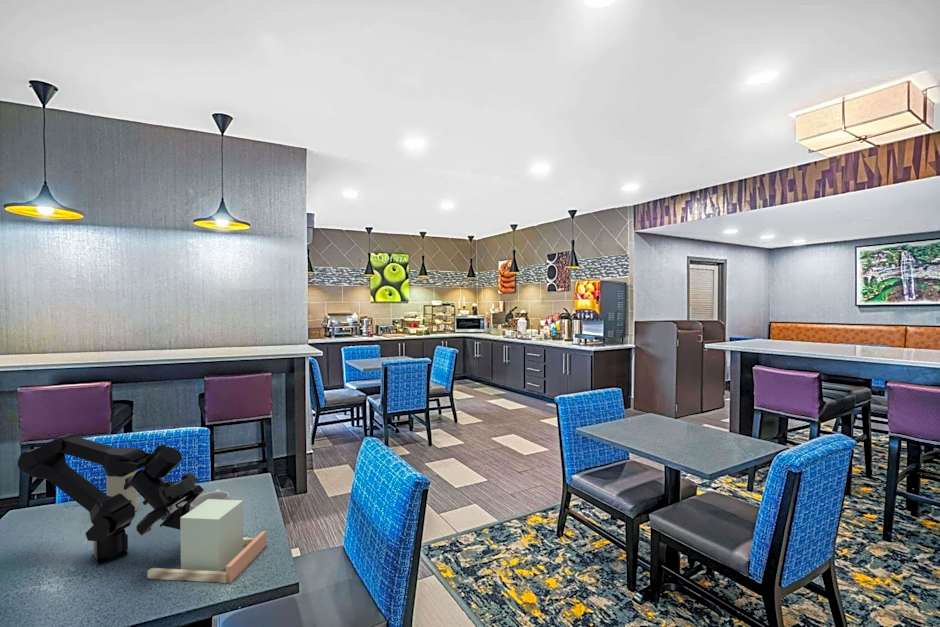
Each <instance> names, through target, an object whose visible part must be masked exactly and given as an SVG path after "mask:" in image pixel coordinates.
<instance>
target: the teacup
mask: <svg viewBox="0 0 940 627" xmlns="http://www.w3.org/2000/svg"><path fill="white" fill-rule="evenodd" d="M207 499H219V500H230V493H229V492H228V491H223V490H222V489H220V488H219V489H215V491H211V492H205V493H201V494H200V495H199V496H198V497H197V498H196V499H195V500H194V501H193V502H192V503H191V504H190V511H191V510H193V509H194V508H196V507H197V506H198V505H200V504H201V503H203V502H204V501H206V500H207Z"/></svg>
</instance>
